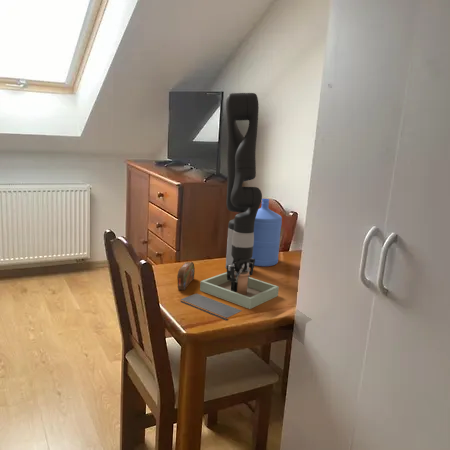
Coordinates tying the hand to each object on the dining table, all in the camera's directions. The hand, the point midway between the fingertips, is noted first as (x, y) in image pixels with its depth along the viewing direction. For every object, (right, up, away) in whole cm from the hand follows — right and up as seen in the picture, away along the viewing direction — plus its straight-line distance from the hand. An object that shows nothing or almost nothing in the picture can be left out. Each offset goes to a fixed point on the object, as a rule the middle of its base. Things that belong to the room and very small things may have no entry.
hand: (239, 289), depth 171 cm
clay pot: (0, -1, 0) cm, 1 cm away
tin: (-20, 0, +6) cm, 21 cm away
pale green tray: (0, -2, +1) cm, 2 cm away
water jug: (+11, +7, +42) cm, 43 cm away
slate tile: (-10, -5, -11) cm, 16 cm away
